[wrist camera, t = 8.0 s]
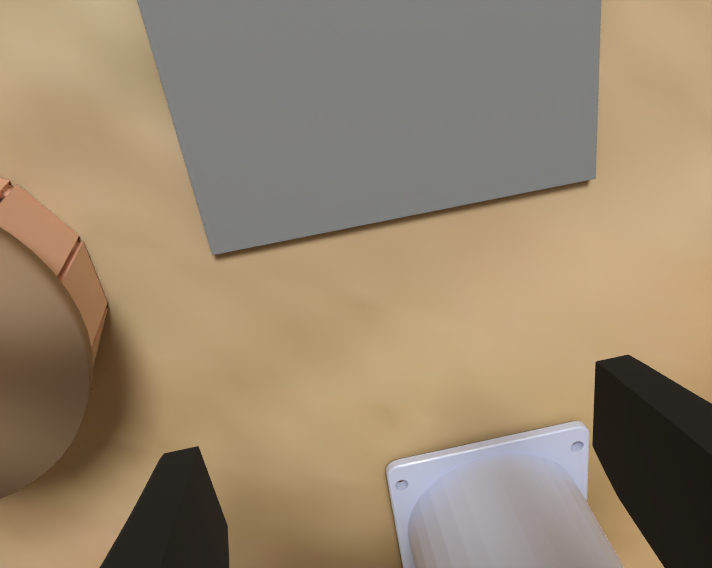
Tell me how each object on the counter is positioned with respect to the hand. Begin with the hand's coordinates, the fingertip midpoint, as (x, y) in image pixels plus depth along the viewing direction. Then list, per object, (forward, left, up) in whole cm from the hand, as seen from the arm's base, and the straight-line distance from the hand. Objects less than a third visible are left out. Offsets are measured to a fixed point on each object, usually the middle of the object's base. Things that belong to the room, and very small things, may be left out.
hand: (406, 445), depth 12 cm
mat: (+6, -2, -10) cm, 12 cm away
